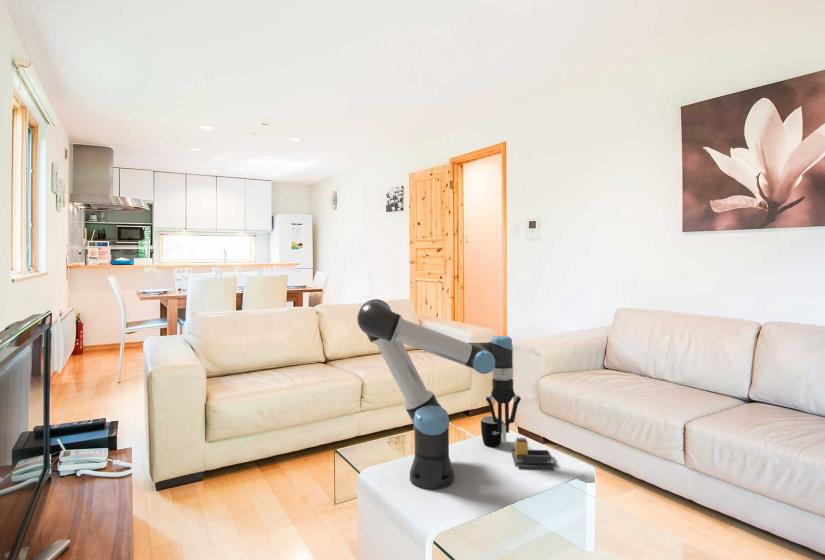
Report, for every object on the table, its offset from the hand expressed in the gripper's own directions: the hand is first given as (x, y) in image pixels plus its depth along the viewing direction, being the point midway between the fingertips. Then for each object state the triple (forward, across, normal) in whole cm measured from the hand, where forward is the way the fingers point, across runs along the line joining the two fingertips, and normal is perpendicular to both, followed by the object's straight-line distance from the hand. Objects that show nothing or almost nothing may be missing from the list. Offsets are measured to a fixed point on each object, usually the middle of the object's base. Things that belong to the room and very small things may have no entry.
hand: (503, 441), depth 175 cm
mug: (+7, -2, +16) cm, 18 cm away
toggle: (+6, +6, 0) cm, 9 cm away
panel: (+7, +10, 0) cm, 13 cm away
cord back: (+7, +10, +7) cm, 14 cm away
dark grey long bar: (+7, +10, -7) cm, 14 cm away
